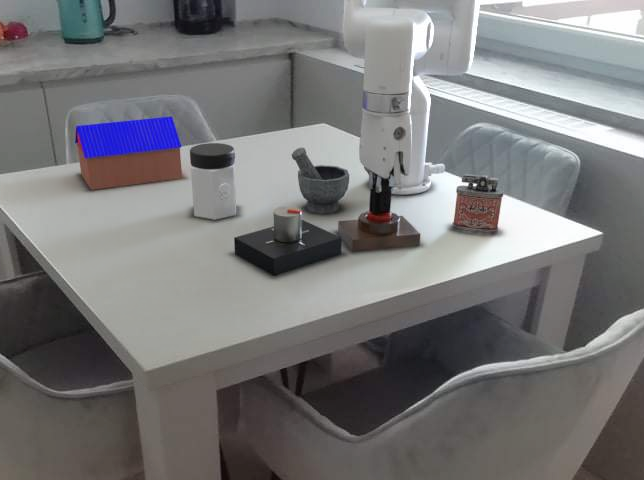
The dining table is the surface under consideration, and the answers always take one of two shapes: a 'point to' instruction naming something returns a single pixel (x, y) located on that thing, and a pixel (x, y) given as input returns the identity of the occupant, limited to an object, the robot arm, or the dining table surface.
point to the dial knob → (287, 224)
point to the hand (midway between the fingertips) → (379, 211)
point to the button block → (378, 233)
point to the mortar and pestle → (320, 183)
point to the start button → (379, 217)
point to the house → (129, 152)
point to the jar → (213, 180)
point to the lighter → (478, 205)
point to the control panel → (287, 249)
